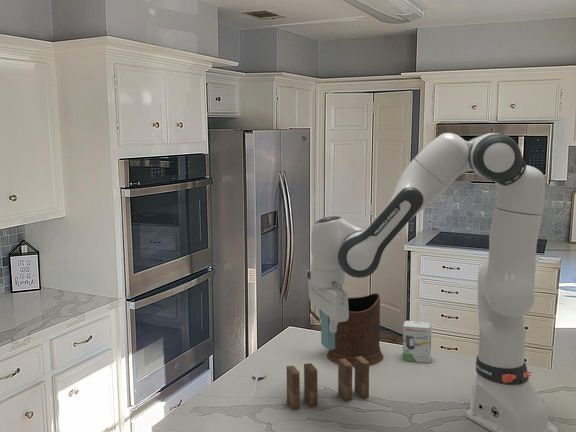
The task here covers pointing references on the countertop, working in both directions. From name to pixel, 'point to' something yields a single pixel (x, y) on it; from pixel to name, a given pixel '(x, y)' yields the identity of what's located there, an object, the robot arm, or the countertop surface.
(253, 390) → the spoon
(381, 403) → the countertop surface
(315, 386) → the domino
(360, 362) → the domino
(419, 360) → the ink box
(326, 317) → the domino
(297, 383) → the domino
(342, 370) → the domino
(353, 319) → the brown pitcher
